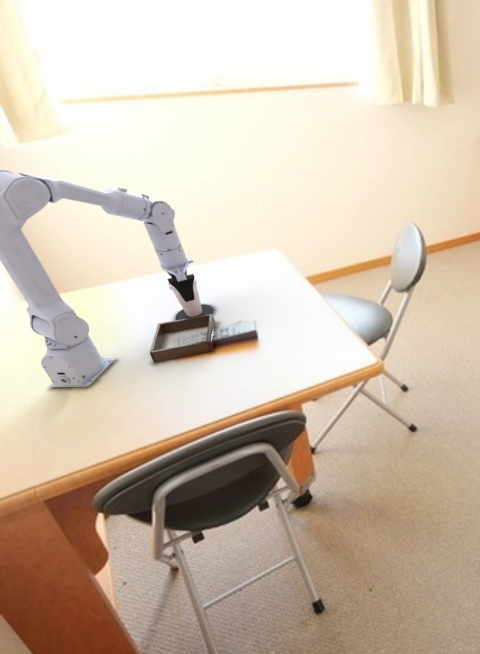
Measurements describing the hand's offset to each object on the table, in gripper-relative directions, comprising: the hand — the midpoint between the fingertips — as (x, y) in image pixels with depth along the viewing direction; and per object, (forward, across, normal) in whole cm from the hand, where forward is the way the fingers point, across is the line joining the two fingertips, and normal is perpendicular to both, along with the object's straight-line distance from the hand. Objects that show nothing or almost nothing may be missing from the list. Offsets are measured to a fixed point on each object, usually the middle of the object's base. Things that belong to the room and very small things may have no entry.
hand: (187, 294), depth 128 cm
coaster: (+6, 0, 0) cm, 6 cm away
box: (+6, -13, +4) cm, 15 cm away
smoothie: (+6, 0, 0) cm, 6 cm away
